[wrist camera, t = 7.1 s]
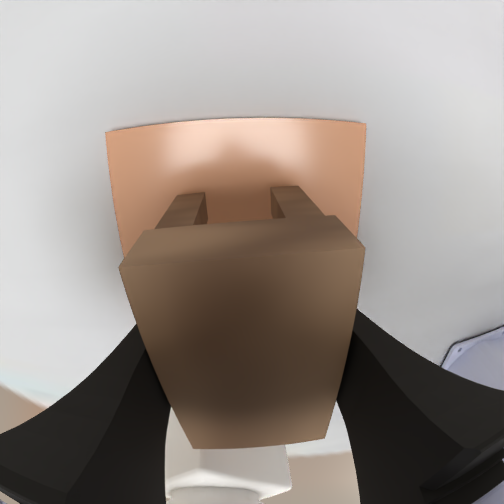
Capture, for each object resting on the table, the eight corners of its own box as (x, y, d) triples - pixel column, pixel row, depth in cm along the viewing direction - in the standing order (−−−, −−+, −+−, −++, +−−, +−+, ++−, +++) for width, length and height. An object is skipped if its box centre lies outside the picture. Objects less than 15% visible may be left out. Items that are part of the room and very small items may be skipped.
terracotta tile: (360, 123, 11) (366, 123, 11) (332, 346, 17) (335, 353, 17) (110, 131, 11) (105, 132, 10) (155, 357, 16) (154, 364, 16)
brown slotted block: (302, 181, 11) (365, 247, 6) (298, 338, 15) (324, 438, 9) (172, 191, 11) (118, 267, 5) (201, 346, 14) (193, 449, 9)
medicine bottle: (151, 411, 19) (135, 550, 8) (203, 371, 17) (202, 556, 7) (221, 440, 22) (227, 560, 11) (280, 407, 20) (306, 551, 9)
